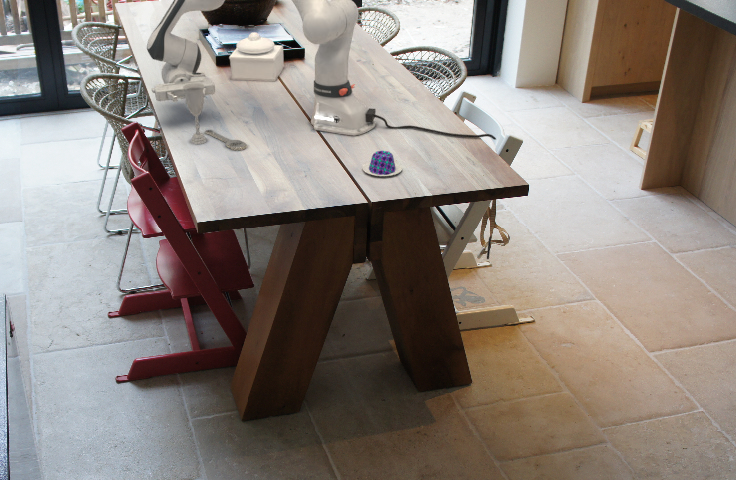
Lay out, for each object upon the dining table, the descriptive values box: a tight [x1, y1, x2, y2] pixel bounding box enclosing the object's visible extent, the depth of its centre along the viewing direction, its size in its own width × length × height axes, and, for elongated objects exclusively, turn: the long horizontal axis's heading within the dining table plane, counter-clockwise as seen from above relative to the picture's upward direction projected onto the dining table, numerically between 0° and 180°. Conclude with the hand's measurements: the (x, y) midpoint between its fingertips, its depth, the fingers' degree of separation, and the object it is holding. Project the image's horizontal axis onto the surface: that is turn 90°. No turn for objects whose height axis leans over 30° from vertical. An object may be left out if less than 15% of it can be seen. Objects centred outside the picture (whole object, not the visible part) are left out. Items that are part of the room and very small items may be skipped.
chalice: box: [183, 83, 207, 145], centre depth 273 cm, size 7×7×18 cm
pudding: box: [362, 150, 403, 177], centre depth 254 cm, size 12×12×5 cm
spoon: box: [205, 129, 247, 151], centre depth 278 cm, size 21×5×1 cm, turn 39°
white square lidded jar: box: [228, 31, 285, 82], centre depth 331 cm, size 18×18×16 cm
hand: (189, 97), depth 279 cm, fingers open, 8 cm apart
